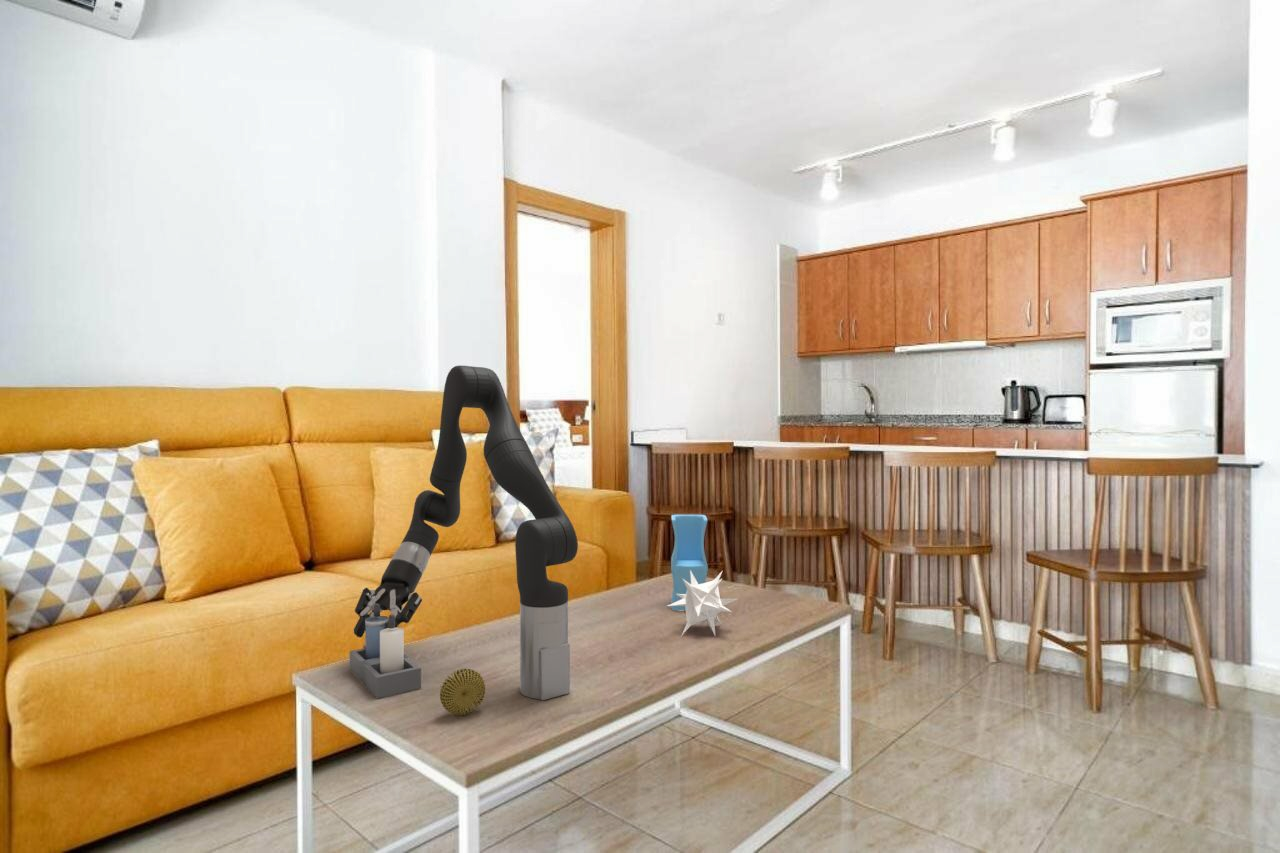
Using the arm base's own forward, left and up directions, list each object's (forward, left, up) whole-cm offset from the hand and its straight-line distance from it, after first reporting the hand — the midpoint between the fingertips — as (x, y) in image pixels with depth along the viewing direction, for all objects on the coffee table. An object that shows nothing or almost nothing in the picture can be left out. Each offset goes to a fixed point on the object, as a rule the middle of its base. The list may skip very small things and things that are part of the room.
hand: (370, 636), depth 145 cm
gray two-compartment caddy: (-4, -1, -8) cm, 9 cm away
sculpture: (-30, -7, -8) cm, 31 cm away
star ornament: (-19, -74, -8) cm, 77 cm away
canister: (+1, -1, -8) cm, 8 cm away
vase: (0, -86, -8) cm, 87 cm away
